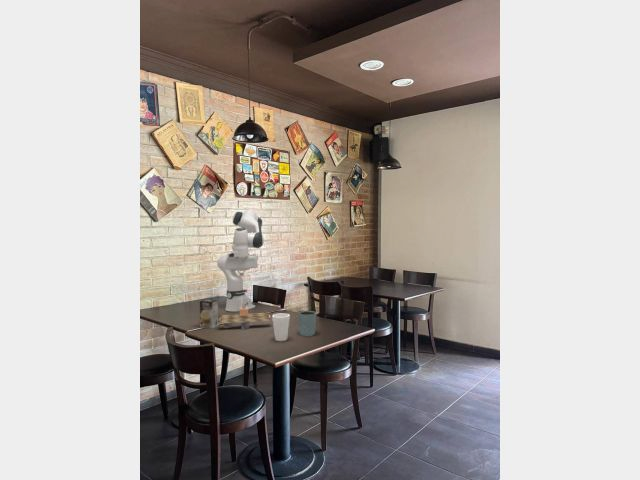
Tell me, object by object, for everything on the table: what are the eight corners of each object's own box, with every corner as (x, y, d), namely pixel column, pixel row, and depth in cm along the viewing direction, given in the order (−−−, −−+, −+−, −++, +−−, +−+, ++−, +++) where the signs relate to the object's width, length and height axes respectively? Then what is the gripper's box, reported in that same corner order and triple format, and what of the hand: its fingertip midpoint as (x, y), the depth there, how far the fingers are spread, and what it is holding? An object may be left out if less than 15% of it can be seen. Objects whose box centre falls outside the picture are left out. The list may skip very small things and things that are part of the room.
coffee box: (199, 327, 237) (198, 300, 236) (205, 324, 243) (205, 298, 242) (212, 328, 234) (212, 301, 233) (218, 325, 240) (218, 299, 239)
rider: (248, 315, 239) (247, 305, 239) (248, 318, 233) (248, 307, 232) (239, 316, 238) (239, 305, 238) (239, 318, 232) (239, 308, 231)
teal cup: (303, 337, 215) (302, 315, 215) (295, 332, 224) (295, 311, 224) (319, 334, 220) (319, 313, 219) (311, 330, 229) (311, 309, 228)
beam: (269, 324, 243) (269, 312, 242) (270, 327, 235) (270, 315, 235) (219, 327, 236) (219, 314, 236) (219, 330, 229) (218, 318, 228)
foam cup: (272, 336, 216) (272, 313, 216) (289, 336, 217) (289, 313, 216) (272, 342, 207) (271, 317, 206) (289, 341, 208) (289, 317, 207)
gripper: (257, 253, 252) (258, 274, 253) (224, 253, 248) (225, 275, 249) (258, 253, 246) (258, 275, 247) (224, 254, 242) (225, 277, 242)
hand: (241, 275), depth 248 cm, fingers closed
